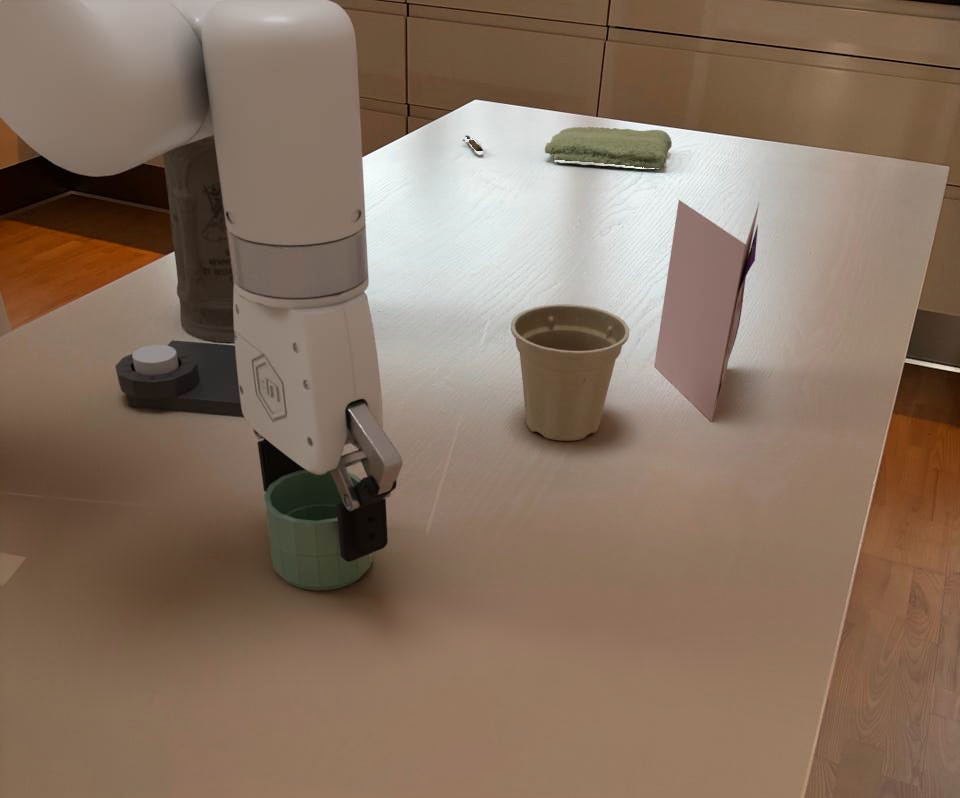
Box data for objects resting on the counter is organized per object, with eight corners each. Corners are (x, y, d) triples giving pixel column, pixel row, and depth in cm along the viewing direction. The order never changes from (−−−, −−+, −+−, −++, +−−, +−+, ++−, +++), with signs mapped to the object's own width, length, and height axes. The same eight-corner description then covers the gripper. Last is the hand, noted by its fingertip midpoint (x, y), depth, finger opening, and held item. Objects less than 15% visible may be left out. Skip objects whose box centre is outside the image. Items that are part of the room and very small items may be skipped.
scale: (111, 411, 86) (103, 377, 84) (161, 353, 95) (155, 322, 93) (276, 425, 85) (272, 391, 83) (311, 365, 94) (308, 334, 92)
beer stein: (182, 350, 96) (161, 115, 83) (165, 307, 103) (144, 86, 91) (342, 341, 101) (345, 119, 89) (315, 301, 108) (314, 91, 96)
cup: (260, 588, 68) (251, 518, 64) (287, 532, 73) (280, 464, 70) (361, 598, 67) (357, 527, 64) (381, 540, 73) (379, 472, 69)
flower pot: (536, 461, 82) (544, 359, 76) (487, 409, 88) (491, 312, 83) (637, 440, 85) (652, 341, 80) (583, 392, 92) (593, 297, 86)
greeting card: (721, 423, 88) (757, 246, 78) (636, 409, 89) (660, 233, 80) (736, 369, 96) (769, 203, 87) (657, 357, 98) (682, 192, 88)
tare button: (128, 375, 86) (125, 360, 85) (144, 357, 88) (141, 342, 87) (170, 379, 85) (167, 364, 84) (184, 361, 88) (182, 346, 87)
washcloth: (556, 141, 158) (558, 119, 156) (671, 152, 156) (674, 129, 153) (542, 164, 148) (543, 140, 146) (664, 175, 146) (667, 151, 144)
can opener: (483, 156, 150) (483, 147, 149) (467, 156, 150) (468, 147, 149) (475, 140, 157) (475, 132, 156) (460, 140, 157) (460, 132, 156)
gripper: (169, 229, 60) (212, 482, 71) (323, 323, 50) (346, 603, 61) (281, 207, 64) (305, 451, 75) (446, 290, 54) (447, 560, 64)
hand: (324, 519), depth 68 cm, fingers open, 9 cm apart
